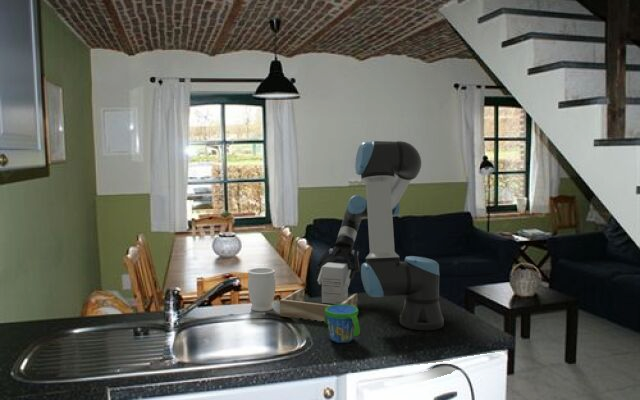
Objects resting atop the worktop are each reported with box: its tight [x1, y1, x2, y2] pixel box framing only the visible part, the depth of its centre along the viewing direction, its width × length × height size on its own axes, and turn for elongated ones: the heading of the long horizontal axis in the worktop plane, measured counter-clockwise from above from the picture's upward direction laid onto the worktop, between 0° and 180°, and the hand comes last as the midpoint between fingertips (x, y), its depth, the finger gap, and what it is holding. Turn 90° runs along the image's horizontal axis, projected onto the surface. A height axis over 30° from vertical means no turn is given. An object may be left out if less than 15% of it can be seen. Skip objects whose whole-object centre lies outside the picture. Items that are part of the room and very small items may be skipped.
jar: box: [247, 267, 276, 312], centre depth 199 cm, size 11×10×15 cm
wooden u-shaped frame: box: [279, 287, 358, 323], centre depth 194 cm, size 19×24×6 cm
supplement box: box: [321, 261, 349, 305], centre depth 208 cm, size 9×9×15 cm
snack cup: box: [324, 304, 361, 344], centre depth 165 cm, size 16×10×10 cm
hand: (332, 283), depth 206 cm, fingers open, 11 cm apart
